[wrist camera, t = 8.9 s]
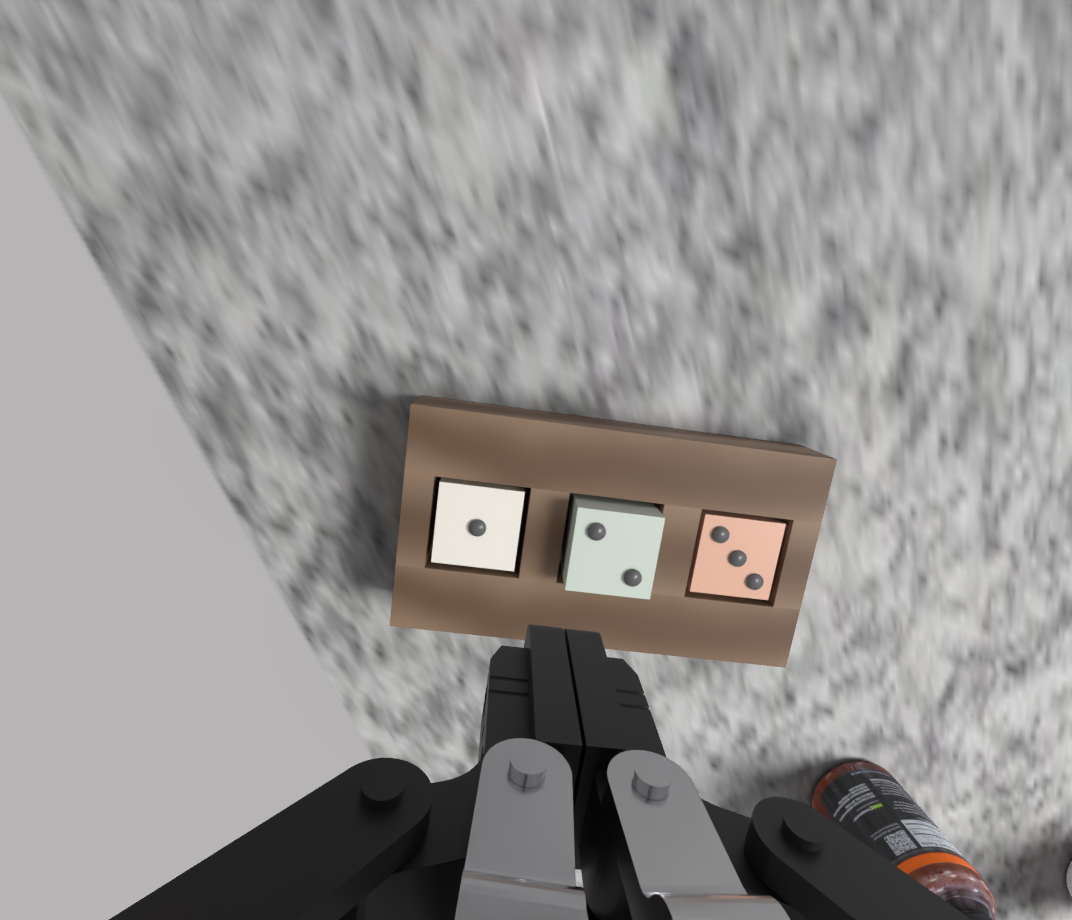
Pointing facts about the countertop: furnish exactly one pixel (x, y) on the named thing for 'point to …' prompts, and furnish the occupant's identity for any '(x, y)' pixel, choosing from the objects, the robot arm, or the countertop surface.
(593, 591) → the button
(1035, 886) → the countertop surface
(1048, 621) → the countertop surface
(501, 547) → the button
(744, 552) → the button
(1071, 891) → the supplement bottle
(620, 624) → the button panel
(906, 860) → the supplement bottle
